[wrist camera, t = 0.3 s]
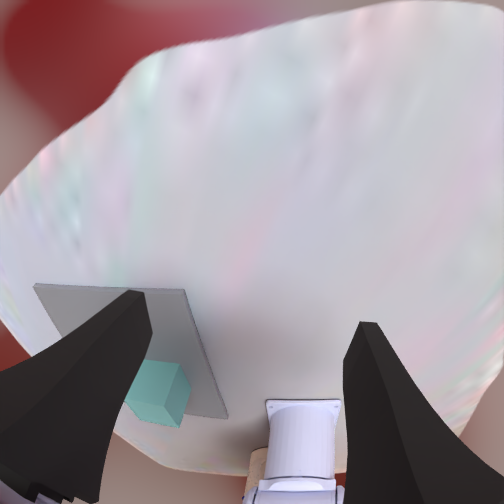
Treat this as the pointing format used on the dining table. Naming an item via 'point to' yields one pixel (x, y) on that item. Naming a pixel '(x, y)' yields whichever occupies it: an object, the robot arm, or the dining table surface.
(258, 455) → the teacup with lid
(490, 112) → the dining table surface
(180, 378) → the teal block
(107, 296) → the gray board
